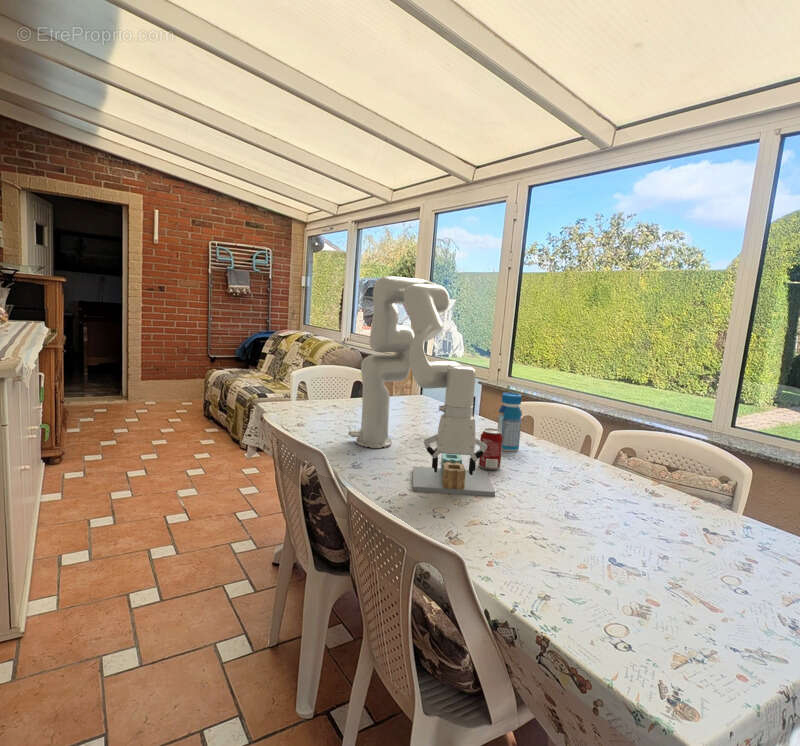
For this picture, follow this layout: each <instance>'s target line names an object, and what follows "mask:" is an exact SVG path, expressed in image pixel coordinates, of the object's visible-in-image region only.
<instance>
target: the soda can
mask: <svg viewBox="0 0 800 746" xmlns="http://www.w3.org/2000/svg"><path fill="white" fill-rule="evenodd" d="M502 439H503V437H502V435H501V431H500V430H498V429H497V428H491V427H490V428H484V429H483V430H482V433H481V434H480V438H479V440H480V441H482V442H484V443H485V444H487V446H488V447H487V449H486V450H485V452H484V453H483V455H482V456H481V457H480V458H478V462H477V463H478V466H479V467H481V469H483V470H485V471H486V470H487V471H496V470H497V469H500V468H501V460H502V451H503V450H502ZM480 448H481V447H480V446H479V449H480Z"/></svg>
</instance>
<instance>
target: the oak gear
mask: <svg viewBox="0 0 800 746" xmlns="http://www.w3.org/2000/svg"><path fill="white" fill-rule="evenodd" d="M465 470H466V468H465V465H464V463H462V464H460V463H455V464H454V463H451V462H447V463H443V475H442V482H443V488H447V489H452V488H456V490H461V489H464V486H465V473H466V471H465Z"/></svg>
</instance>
